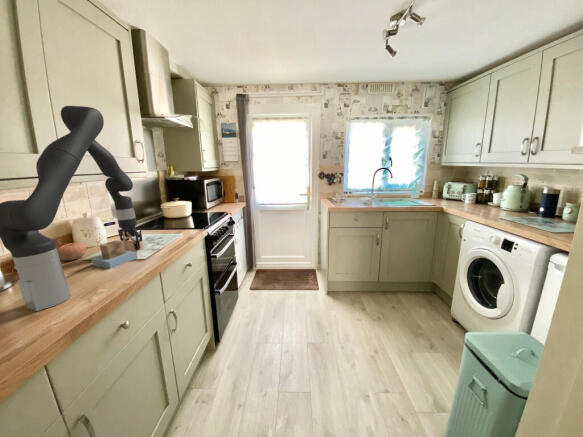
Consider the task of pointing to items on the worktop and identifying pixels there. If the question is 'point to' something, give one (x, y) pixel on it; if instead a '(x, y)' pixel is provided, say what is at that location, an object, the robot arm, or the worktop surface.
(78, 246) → the reddish brown rounded lump
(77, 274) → the worktop surface
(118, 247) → the walnut brick
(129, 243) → the terracotta brick
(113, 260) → the base plate
